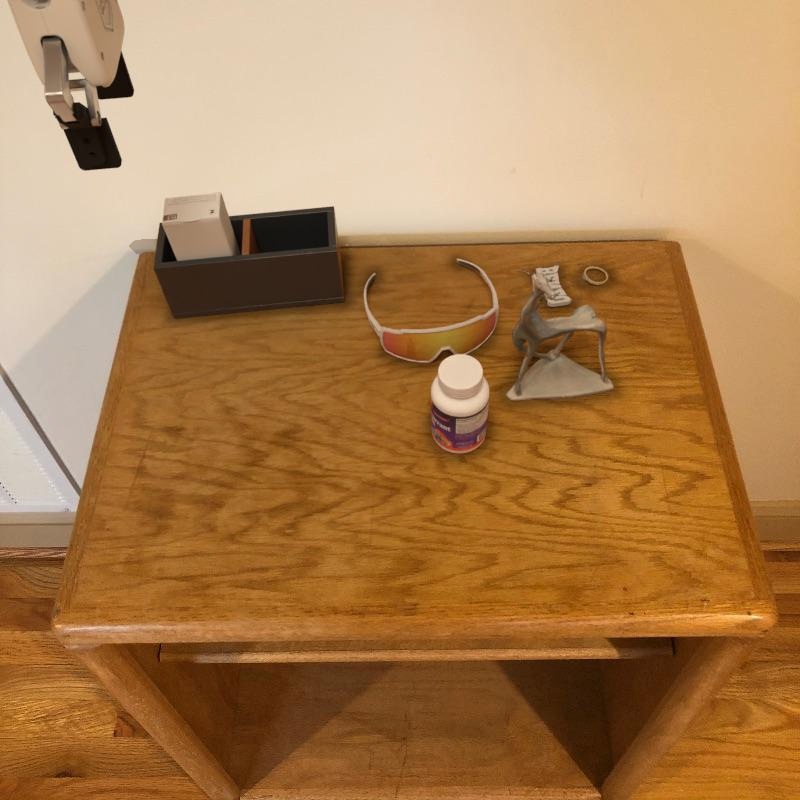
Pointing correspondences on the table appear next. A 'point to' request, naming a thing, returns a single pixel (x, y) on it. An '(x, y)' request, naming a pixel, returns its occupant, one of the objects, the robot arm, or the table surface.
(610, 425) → the table surface
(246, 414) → the table surface
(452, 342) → the sunglasses
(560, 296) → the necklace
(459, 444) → the pill bottle
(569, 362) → the figurine
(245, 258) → the caddy
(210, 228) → the cosmetic box
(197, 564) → the table surface
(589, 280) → the ring
